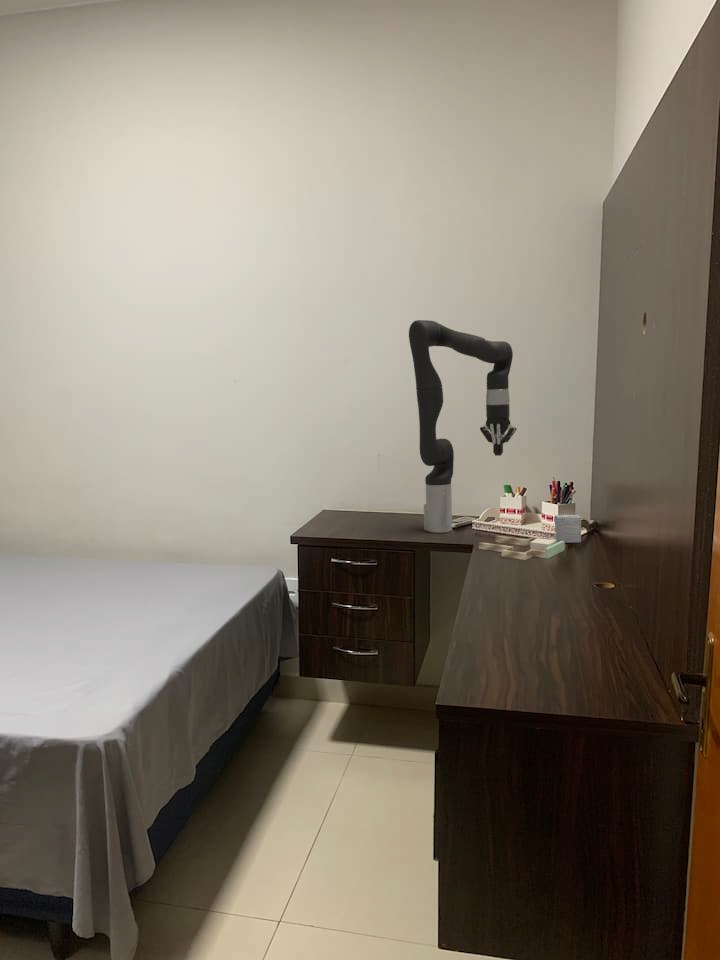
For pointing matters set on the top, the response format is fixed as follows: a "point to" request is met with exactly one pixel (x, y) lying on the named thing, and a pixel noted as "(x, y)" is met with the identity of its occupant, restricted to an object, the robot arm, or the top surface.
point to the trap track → (509, 550)
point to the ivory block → (541, 544)
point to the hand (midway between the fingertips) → (498, 455)
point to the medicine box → (568, 528)
